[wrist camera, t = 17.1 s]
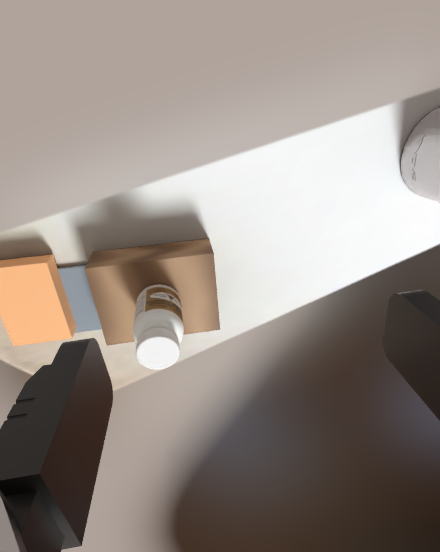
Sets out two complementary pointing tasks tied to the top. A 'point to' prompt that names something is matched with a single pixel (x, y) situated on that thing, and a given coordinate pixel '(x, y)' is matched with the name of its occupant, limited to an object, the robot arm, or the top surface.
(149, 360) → the pill bottle
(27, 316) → the thin peach tile
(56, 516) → the robot arm
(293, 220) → the top surface
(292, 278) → the top surface
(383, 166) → the top surface
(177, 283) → the block
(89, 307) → the mat
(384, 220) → the top surface
